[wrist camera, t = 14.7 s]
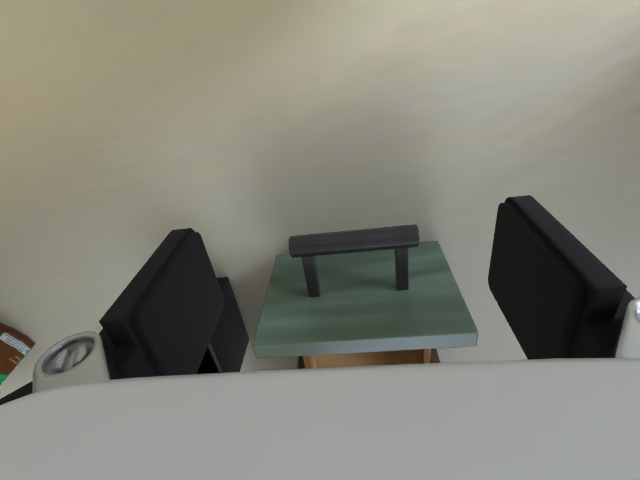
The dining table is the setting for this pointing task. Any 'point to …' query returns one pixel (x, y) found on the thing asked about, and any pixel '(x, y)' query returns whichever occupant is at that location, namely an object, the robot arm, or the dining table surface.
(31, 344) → the food container
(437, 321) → the drawer
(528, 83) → the dining table surface
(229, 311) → the dark glass display case
